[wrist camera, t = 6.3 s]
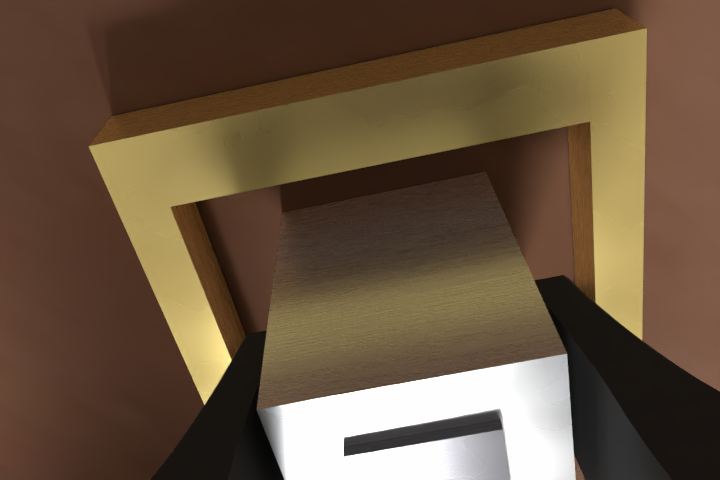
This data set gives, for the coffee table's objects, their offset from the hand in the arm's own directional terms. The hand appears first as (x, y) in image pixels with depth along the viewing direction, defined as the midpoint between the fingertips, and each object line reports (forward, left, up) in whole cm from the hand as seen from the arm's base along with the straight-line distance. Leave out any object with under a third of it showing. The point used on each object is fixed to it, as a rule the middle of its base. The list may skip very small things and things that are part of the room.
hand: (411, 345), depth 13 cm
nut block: (0, 0, -3) cm, 3 cm away
